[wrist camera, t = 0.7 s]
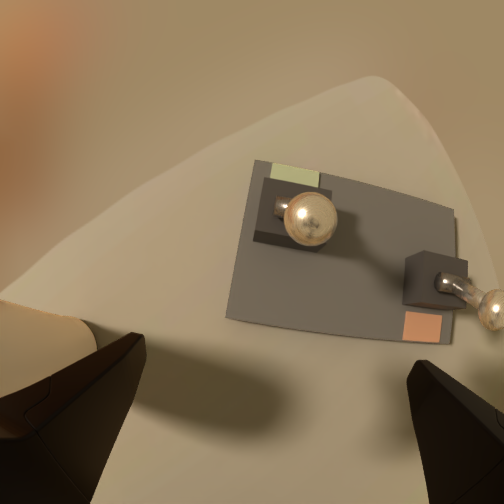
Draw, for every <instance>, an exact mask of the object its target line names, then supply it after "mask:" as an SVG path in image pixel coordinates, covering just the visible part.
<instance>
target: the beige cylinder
mask: <svg viewBox="0 0 504 504" xmlns="http://www.w3.org/2000/svg"><path fill="white" fill-rule="evenodd" d="M95 351H97V345H96V341H95V338H94V335H93V333H92V331H91V330H90V328H89V327H88V326H87V325H86V324H85V323H84V322H83V321H81V320H80V319H78V318H75V317H71V316H61V315H56V314H52V313H48V312H44V311H40V310H36V309H32V308H29V307H25V306H21V305H18V304H14V303H11V302H8V301H4V300H1V299H0V398H1V397H3V396H6V395H8V394H11V393H13V392H16V391H18V390H21V389H23V388H25V387H28V386H30V385H32V384H34V383H36V382H38V381H40V380H42V379H44V378H46V377H48V376H51V375H52V374H54V373H56V372H57V371H59V370H61V369H63V368H65V367H67V366H69V365H71V364H73V363H75V362H76V361H78V360H80V359H82V358H84V357H86V356H88V355H90V354H91V353H93V352H95Z"/></svg>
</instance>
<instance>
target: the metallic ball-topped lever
mask: <svg viewBox="0 0 504 504" xmlns="http://www.w3.org/2000/svg"><path fill="white" fill-rule="evenodd" d="M273 217H278V218H284V225H285V229H286V231H287V233H288V234H289V236H290V237H291V238H292V239H293V240H294V241H296V242H297V243H299V244H301V245H305V246H317V245H320V244H323V243H324V242H326V241H327V240H329V239H330V238H331V236H332V235H333V234H334V232H335V230H336V227H337V222H338V217H337V212H336V209H335V207H334V205H333V204H332V202H331V201H330V200H329V199H328V198H327V197H325V196H324V195H322V194H319V193H316V192H305V193H302V194H299V195H297V196H296V197H294V198H293V199H292V198H287V197H282V196H276V200H275V204H274V210H273Z"/></svg>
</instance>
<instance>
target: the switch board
mask: <svg viewBox="0 0 504 504" xmlns="http://www.w3.org/2000/svg"><path fill="white" fill-rule="evenodd" d="M305 192H316V193H319V194H322V195H324V196H325V197H327V198H328V199H329V200H330V201H331V202H332V204H333V205H334V207H335V209H336V212H337V217H338V222H337V227H336V230H335V232H334V234H333V235H332V236H331V238H330V239H329V240H327V241H326V242H324V243H323V244H320V245H317V246H305V245H301V244H299V243H297V242H296V241H294V240H293V239H292V238H291V237H290V236H289V234H288V233H287V231H286V229H285V225H284V218H278V217H273V210H274V204H275V200H276V196H282V197H287V198H292V199H293V198H294V197H296V196H297V195H299V194H302V193H305ZM439 272H443V273H448V274H453V275H457V276H462V277H467V278H468V261H467V260H463V259H459V258H455V223H454V209H451V208H448V207H445V206H442V205H439V204H436V203H433V202H429V201H426V200H423V199H420V198H416V197H413V196H410V195H406V194H403V193H399V192H396V191H392V190H389V189H385V188H382V187H378V186H374V185H370V184H366V183H362V182H359V181H355V180H350V179H346V178H342V177H338V176H334V175H329V174H325V173H320V172H317V171H312V170H307V169H302V168H298V167H293V166H287V165H282V164H277V163H271V162H265V161H260V160H255V162H254V167H253V172H252V177H251V182H250V187H249V192H248V198H247V203H246V208H245V213H244V218H243V224H242V229H241V234H240V240H239V245H238V250H237V256H236V261H235V266H234V272H233V277H232V283H231V288H230V294H229V299H228V305H227V310H226V316H225V318H230V319H235V320H241V321H246V322H252V323H258V324H264V325H271V326H277V327H284V328H290V329H297V330H304V331H312V332H319V333H327V334H335V335H344V336H353V337H362V338H372V339H382V340H394V341H406V342H420V343H436V344H450V336H451V327H452V317H453V310H455V309H464V308H466V301H464V300H463V299H461V298H460V297H458V296H457V295H455V294H454V293H448V292H442V291H437V290H436V289H435V287H434V280H435V277H436V275H437V274H438V273H439Z"/></svg>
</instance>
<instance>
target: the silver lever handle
mask: <svg viewBox="0 0 504 504" xmlns="http://www.w3.org/2000/svg"><path fill="white" fill-rule="evenodd" d="M434 287H435V289H436V290H437V291H442V292H448V293H454V294H455V295H457V296H458V297H460V298H461V299H463V300H464V301H466V302H468V303H469V304H471V305H472V306H474V307H475V308H477V309H478V316H479V319H480V322H481V323H482V325H483V326H484V327H485V328H487V329H488V330H492V331H497V330H501V329H503V328H504V290H501V289H494V290H491V291H489V292H487V293H485V292H483V291H481V290H479V289H478V288H476V287H474V286H472V285H471V280H470V279H469V278H467V277H462V276H457V275H453V274H448V273H443V272H439V273H438V274H437V275H436V277H435V280H434Z"/></svg>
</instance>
